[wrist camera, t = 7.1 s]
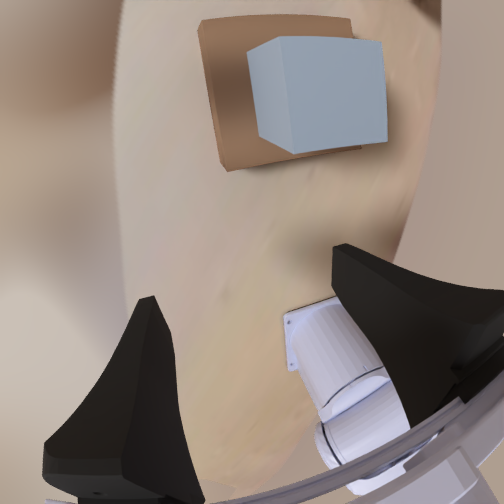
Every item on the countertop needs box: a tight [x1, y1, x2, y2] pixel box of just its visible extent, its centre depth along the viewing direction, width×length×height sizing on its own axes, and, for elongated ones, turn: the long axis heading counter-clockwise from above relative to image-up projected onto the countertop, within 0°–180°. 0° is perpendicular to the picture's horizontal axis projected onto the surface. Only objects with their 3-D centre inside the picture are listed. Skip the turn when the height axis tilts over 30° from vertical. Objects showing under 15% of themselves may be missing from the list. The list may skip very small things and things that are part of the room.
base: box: [198, 14, 361, 172], centre depth 16 cm, size 9×9×3 cm
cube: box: [247, 36, 388, 154], centre depth 13 cm, size 5×5×5 cm
